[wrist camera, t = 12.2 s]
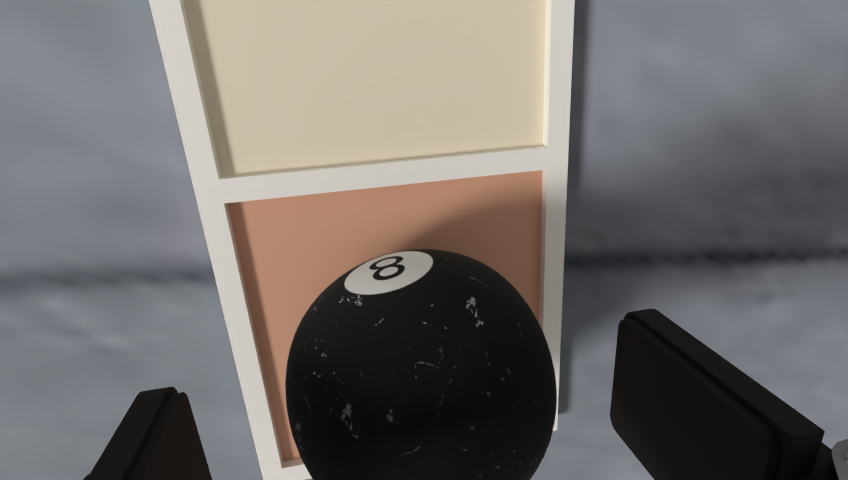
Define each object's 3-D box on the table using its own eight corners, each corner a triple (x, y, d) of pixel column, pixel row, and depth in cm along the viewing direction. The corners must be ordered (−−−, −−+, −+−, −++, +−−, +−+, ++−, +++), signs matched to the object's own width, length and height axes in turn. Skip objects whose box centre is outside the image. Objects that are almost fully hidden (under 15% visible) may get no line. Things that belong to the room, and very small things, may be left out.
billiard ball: (334, 428, 14) (335, 648, 9) (265, 256, 12) (210, 403, 7) (514, 368, 15) (623, 540, 9) (479, 194, 13) (593, 282, 7)
